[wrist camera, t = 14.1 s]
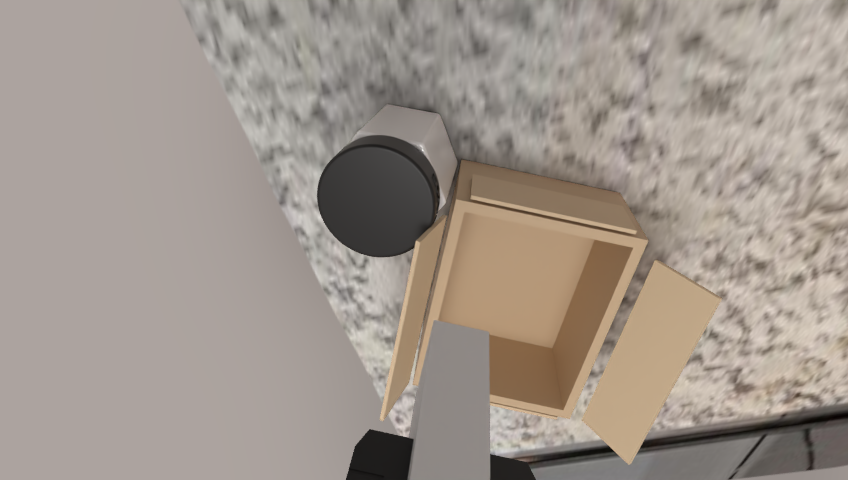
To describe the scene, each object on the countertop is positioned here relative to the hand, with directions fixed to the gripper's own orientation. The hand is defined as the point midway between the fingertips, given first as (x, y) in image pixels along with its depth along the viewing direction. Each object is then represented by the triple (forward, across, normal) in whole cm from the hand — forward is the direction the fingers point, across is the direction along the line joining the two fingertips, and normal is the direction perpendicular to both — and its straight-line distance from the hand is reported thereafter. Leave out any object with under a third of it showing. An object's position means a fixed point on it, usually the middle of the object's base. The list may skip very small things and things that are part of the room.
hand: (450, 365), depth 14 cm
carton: (+32, +7, -14) cm, 36 cm away
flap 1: (+20, -1, -14) cm, 25 cm away
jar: (+32, -5, -5) cm, 33 cm away
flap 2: (+21, +16, -14) cm, 30 cm away
